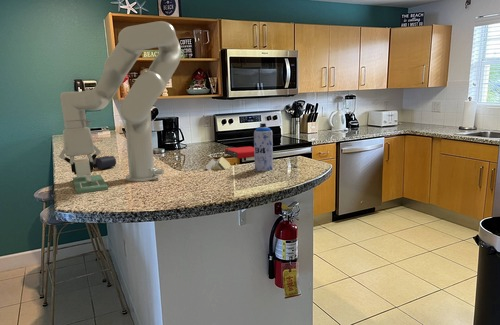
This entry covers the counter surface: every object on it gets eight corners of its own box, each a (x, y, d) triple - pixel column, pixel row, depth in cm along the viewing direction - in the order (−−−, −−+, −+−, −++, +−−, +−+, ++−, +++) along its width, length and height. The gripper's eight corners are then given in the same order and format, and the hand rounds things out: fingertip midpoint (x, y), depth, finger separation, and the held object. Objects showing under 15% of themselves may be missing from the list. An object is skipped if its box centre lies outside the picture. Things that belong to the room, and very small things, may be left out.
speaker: (110, 166, 170) (91, 170, 163) (108, 155, 170) (89, 158, 162) (118, 166, 166) (99, 170, 159) (116, 155, 166) (97, 158, 158)
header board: (73, 180, 140) (72, 177, 140) (100, 177, 145) (100, 174, 145) (76, 193, 120) (76, 190, 119) (108, 189, 124) (107, 186, 124)
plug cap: (75, 173, 139) (73, 159, 138) (89, 171, 142) (87, 157, 141) (77, 176, 133) (74, 162, 132) (91, 174, 135) (88, 160, 134)
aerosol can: (250, 173, 145) (249, 123, 142) (259, 169, 152) (258, 122, 148) (268, 174, 141) (267, 124, 138) (276, 171, 148) (275, 122, 145)
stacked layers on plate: (219, 182, 151) (228, 175, 149) (205, 166, 149) (214, 159, 147) (225, 173, 160) (234, 166, 158) (212, 158, 159) (221, 151, 156)
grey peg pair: (86, 183, 129) (85, 173, 129) (91, 182, 130) (90, 173, 129) (87, 185, 126) (86, 176, 125) (92, 185, 126) (91, 175, 126)
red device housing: (225, 157, 188) (225, 148, 187) (250, 155, 193) (250, 146, 192) (238, 163, 171) (237, 152, 171) (264, 160, 177) (264, 150, 176)
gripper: (99, 122, 141) (105, 168, 144) (50, 127, 133) (58, 174, 136) (101, 123, 134) (107, 171, 138) (50, 128, 126) (58, 178, 130)
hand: (83, 172), depth 137 cm, fingers closed on plug cap, 4 cm apart
